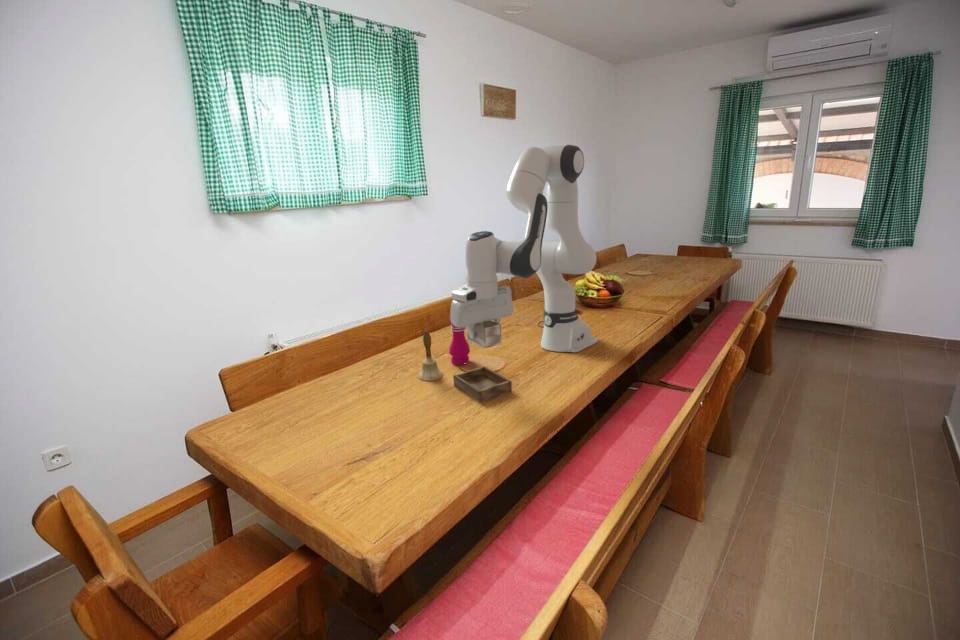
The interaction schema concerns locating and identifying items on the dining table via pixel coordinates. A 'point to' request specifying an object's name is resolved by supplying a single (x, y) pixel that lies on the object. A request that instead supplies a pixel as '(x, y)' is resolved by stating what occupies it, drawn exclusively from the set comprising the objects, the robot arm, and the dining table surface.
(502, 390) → the big crate
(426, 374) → the hand bell
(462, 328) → the pepper mill
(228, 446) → the dining table surface
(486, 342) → the small crate
